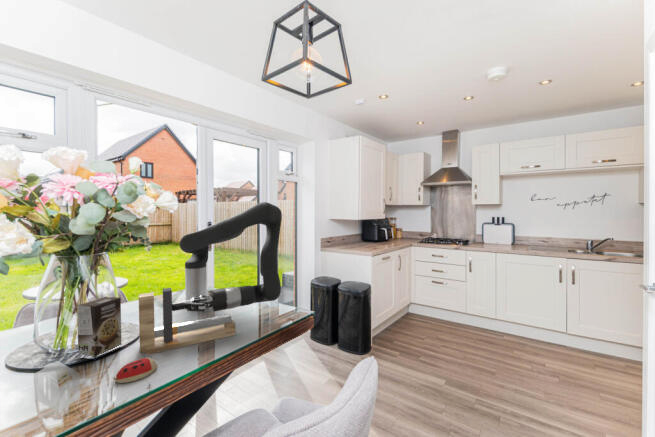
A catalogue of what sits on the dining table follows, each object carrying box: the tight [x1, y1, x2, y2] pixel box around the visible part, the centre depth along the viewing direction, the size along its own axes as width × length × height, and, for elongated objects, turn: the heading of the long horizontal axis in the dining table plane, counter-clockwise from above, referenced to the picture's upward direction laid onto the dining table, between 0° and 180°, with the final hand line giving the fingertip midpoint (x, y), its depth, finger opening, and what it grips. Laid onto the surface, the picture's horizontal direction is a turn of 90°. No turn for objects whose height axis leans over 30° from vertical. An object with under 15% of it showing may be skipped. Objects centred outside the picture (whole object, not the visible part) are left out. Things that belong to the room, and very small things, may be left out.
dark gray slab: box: [162, 287, 173, 342], centre depth 96 cm, size 5×2×16 cm, turn 32°
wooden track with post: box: [138, 292, 237, 355], centre depth 99 cm, size 9×29×17 cm, turn 122°
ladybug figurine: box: [114, 357, 158, 384], centre depth 78 cm, size 7×10×4 cm
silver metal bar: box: [154, 313, 233, 338], centre depth 100 cm, size 3×26×3 cm, turn 122°
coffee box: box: [77, 296, 122, 357], centre depth 90 cm, size 9×6×16 cm
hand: (171, 307), depth 96 cm, fingers closed
